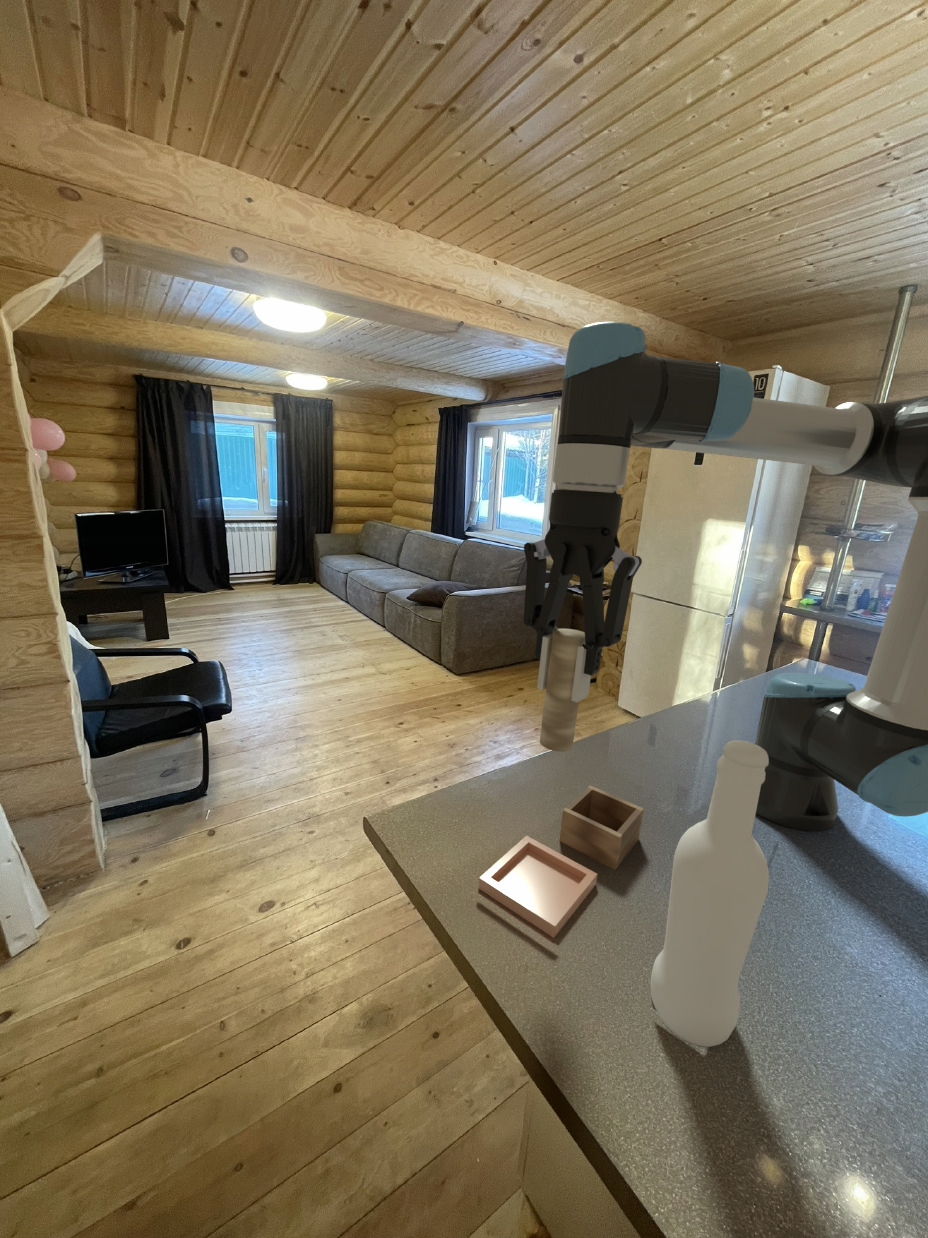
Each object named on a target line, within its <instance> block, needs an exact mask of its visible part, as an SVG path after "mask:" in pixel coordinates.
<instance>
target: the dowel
mask: <svg viewBox="0 0 928 1238" xmlns="http://www.w3.org/2000/svg"><path fill="white" fill-rule="evenodd" d="M552 633H553V634H552V642H551V651H550V659H549V667H548V676H547V684H546V689H545V694H544V695H545V696H544V703H543V711H542V716H541V717H542V719H541V728H540V734H539V735H540V736H539V743H540V745H541V746H542V747H543V748H545V749H547V750H550V751H553V752H558V753H559V752H561V753H562V752H568V751H570V750H572V749H573V747H574V739H575V732H576V726H577V718H578V712H579V711H578V710H579V704H580V701H579V702H574V701H572V700H571V698H572V690H573V682H574V675H575V667H576V659H577V651H578V646H580V645H582V644H584V643H585V631H581V630H579V629H572V628H558V629H555V630H553V631H552Z"/></svg>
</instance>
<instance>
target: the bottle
mask: <svg viewBox="0 0 928 1238" xmlns="http://www.w3.org/2000/svg"><path fill="white" fill-rule="evenodd" d="M721 753H722V756H720V758H719V759H717V762H716V771H717V774H716V777H715V781H714V782H715V783H714V786H713V790H712V795H711V798H710V799H711V800H710V803H709V807H708V811H707V812H708V813H707V816H706V819H704V820H701V821H699V822H697V823H695V824H694V825H692V826H691V827H689V828H688V829H687V830H686V831H685V832H684V833H683V834H682V836H681V837H680V838H679V840H678V844H677V846H676V849H675V851H674V856H673V862H672V872H671V882H670V891H669V892H670V893H669V899H668V901H669V902H668V908H667V909H668V911H667V918H666V920H667V921H666V928H665V936H664V937H665V939H664V943H663V944H664V945H663V948H662V950H661V952H659V954H658V955H657V956H656V958H655V960H654V962H653V966H652V971H651V977H650V997H651V1000H652V1003H653V1006H654V1009H655V1012H656V1014H657V1015H658V1017H659V1019H660V1020H661V1022H662V1023H663V1024H664V1026H666V1027H667V1029H669V1031H671V1032H672V1033H673V1034H675V1035H676V1036H677V1037H678V1038H680V1039H681V1040H683V1041H685V1042H687V1043H688V1044H692V1045H695V1046H698V1047H705V1048H707V1047H708V1048H709V1047H710V1048H711V1047H715V1046H719V1045H722V1044H723V1043H724V1042H726V1041H728V1039H729V1037H730V1036H731V1034H732V1033H733V1031H734V1029H735V1028H736V1026H737V1022H738V1019H739V1015H740V1008H741V997H740V992H739V985H738V983H739V979H740V976H741V973H742V969H743V966H744V963H745V961H746V959H747V955H748V952H749V948H750V946H751V942H752V940H753V936H754V933H755V931H756V928H757V925H758V922H759V919H760V916H761V913H762V909H763V907H764V904H765V900H766V899H767V894H768V890H769V883H770V881H769V880H770V875H769V874H770V871H769V867H768V861H767V859H766V856H765V854H764V851H762V848H761V846H760V845H759V843H758V841H757V840H756V839H755V838H754V836H753V830H754V823H755V819H756V815H757V814H756V809H757V804H758V799H759V793H760V788H761V784H762V783H763V782H764V781H765V767H767V766H768V764H769V759H768V754H767V752H766V751H765V750H764V749H763V748H761V747H760V746H758V745H756V744H755V743H754V742H750V741H746V740H740V739H737V740H736V739H735V740H734V739H733V740H731V741H730V740H729V741H728V742H727V743H726V744H725V745H724V747H723V749H722V751H721Z"/></svg>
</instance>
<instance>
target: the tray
mask: <svg viewBox="0 0 928 1238" xmlns="http://www.w3.org/2000/svg"><path fill="white" fill-rule="evenodd" d="M597 880H598V873H597V872H595V871H593V870H591V869H589V868H587V867H585V866H584V865H582V864H580V863H579V862H576V861H574V860H573V859H571V858H569V857H567V856H565V855H563V854H561V853H560V852H558V851H557V850H554V849H552V848H550V847H549V846H547V845H545V844H543V843H541V842H539V841H538V840H536V839H534V838H532V837H530V836H529V835H525V836H524V837H523V838H522V839H521V840H519V841H518V843H516V845H514V846H513V847H512V848H510V849H509V850H508V851H507V852H506V853H505V854H504V855H502V857H501V858H499V859H498V860H497V861H496V862H495V863H494V864H493V865H492V866H491V867H489V869H487V870H486V871H485V872H484V873H483V874H482V875H481V876H479V878H478V890H480V891H482V892H483V893H485V894H487V896H490V897H491V898H493V899H494V900H495V901H497V902H499V903H500V904H501V905H503V906H505V907H506V908H508V909H509V910H511V911H512V912H513V913H515V914H517V915H518V916H520V917H521V918H522V919H524V920H526V921H527V922H529V923H530V924H532V925H534V926H535V927H536V928H537V929H540V930H541V931H543V932H544V933H545V934H547V935H549V936H550V937H552V938H555V937H557V934H558V933H559V932H560V931H561V929H562V928H563V927H564V926H565V925H566V923H567V922H568V921H569V920H570V918H571V917H572V915H574V913H575V912H576V911H577V909H578V908H579V907H580V906H581V904H582V903H583V901H584V900H585V899H586V898H587V897H588V895H589V894H590V893H591V892H592V890H593V889H594V888H595V886H597ZM477 893H478V894H479V895H480V896H482V897H483V898H485V899H487V901H489V902H491V903H492V904H494V905H496V906H497V907H498V908H499V909H501V910H503V911H505V912H506V913H508V914H509V915H510V916H511V917H513V918H514V919H516V920H517V921H519V922H521V923H522V924H524V925H525V926H527V927H528V928H530V929H531V930H532V931H534V932H536V933H537V934H539V935H540V936H542V937H543V938H545V939H546V940H547V941H549V942H550V943H552V944H554V943H555V942H554V941H553V940H551V939H550V938H548V937H546V935H544V934H542V933H540V932H539V931H538V930H536V929H535V928H533V927H532V926H530V925H528V924H527V923H525V922H524V921H523V920H521V919H519V918H518V917H517V916H515V915H514V914H512V913H511V912H509V911H507V909H504V908H503V907H502V906H500V905H498V904H497V903H496V902H494V901H492V900H491V899H490V898H488V897H487V896H485V895H484V894H482V893H480V892H479V891H478V892H477Z"/></svg>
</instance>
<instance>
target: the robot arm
mask: <svg viewBox="0 0 928 1238" xmlns="http://www.w3.org/2000/svg"><path fill="white" fill-rule="evenodd" d="M646 341H647V340H646V333H645V331H644V330H643V328H641V327H640V326H637V325H632V324H631V323H629V322H622V321H621V322H619V321H601V322H594V323H591V324H586V325H584V326H582V327H579V329H578V330H576V331H575V332H574V333H573V334H572V336H571V337H570V340H569V343H568V347H567V353H566V358H565V363H564V365H565V366H564V369H563V370H564V371H563V376H562V379H561V381H562V390H561V391H562V392H561V393H562V394H561V402H560V403H561V404H560V415H559V425H558V437H557V444H556V448H555V449H556V450H555V458H554V465H553V466H554V468H553V475H552V476H553V477H552V482H553V483H554V484H557V489H553V491H552V492H551V496H550V505H549V514H548V520H549V529H548V531H547V532H546V534H545V537H544V539H541V540H538V541H533V542H532V541H531V542H526V543H524V545H523V551H524V556H525V560H526V573H525V574H526V575H525V578H526V579H525V592H524V609H523V624H524V625H525V626H526V627H531V628H532V629H534V630H535V631H536V644H535V653H534V656H535V658H536V659H537V660H539V669H538V678H537V687H536V689H538V690H541V691H543V690H546V684H547V676H548V667H549V659H550V651H551V642H552V634H553V630H555V629H559V626H557V624H558V623H557V622H558V619H559V616H560V613H561V610H562V608H563V603H564V602H565V601H564V600H565V597H566V594H567V591H568V587H569V586H570V585H569V584H570V581H571V580H572V579H573V577H574V575H575V576H576V577H579V585H580V587H581V588H582V589H581V591H582V604H583V605H582V608H583V609H582V610H583V624H584V633H585V643H584V644H582V645H580V646H578V651H577V659H576V667H575V675H574V682H573V690H572V698H571V700H572V701H574V702H579V703H580V702H581V701H582V700H584V699H586V698H587V697H589V694H590V693H589V692H590V684H591V680H592V679H591V678H592V676H594V675H595V674H597V673H598V672H599V670H600V668H601V667H600V666H601V665H600V664H601V658H602V651H603V648H604V647H605V648H608V647H611V646H613V645H616V644H618V643H620V642H621V640H622V636H623V631H624V625H625V621H626V616H627V611H628V605H629V599H630V595H631V591H632V585H633V580H634V577H635V575H636V574H637V572H638V571H639V569H640V567H641V565H642V563H643V560H642V557H640V556H639V555H631V554H630V553H628V552H626V551H625V550H623V549H622V548H621V545H620V541H619V539H618V538H619V537H618V530H619V527H620V522H621V515H622V508H623V500H624V496H622V494H621V493H619V488H620V489H623V488H624V487H625V485H626V478H627V470H628V465H629V464H628V463H629V457H630V449H631V447H639V448H652V449H659V450H660V449H661V450H662V449H663V450H664V449H665V450H673V451H682V452H691V453H700V454H707V455H708V454H710V455H718V456H726V457H727V456H728V457H735V458H747V459H755V460H763V461H771V462H772V461H773V462H782V463H789V464H790V463H791V464H792V463H793V464H800V465H807V466H809V465H810V466H813V467H814V468H815V469H816V471H818V472H820V473H821V474H824V475H829V476H837V477H845V478H851V479H856V480H861V481H865V482H871V483H877V484H879V485H880V484H882V485H887V486H892V487H898V488H899V487H900V488H911V489H910V491H909V495H908V499H907V501H908V502H909V503H910V505H912V507H913V508H914V509H915V511H916V512H917V515H918V516H917V519H916V523H915V526H914V528H913V531H912V533H911V537H910V540H909V544H908V547H907V550H906V553H905V556H904V560H903V563H902V566H901V569H900V573H899V575H898V577H897V581H896V585H895V588H894V592H893V595H892V597H891V601H890V604H889V607H888V611H887V613H886V616H885V620H884V623H883V625H882V629H881V632H880V635H879V638H878V642H877V644H876V647H875V650H874V654H873V657H872V659H871V660H872V661H871V663H870V666H869V670H868V672H867V675H866V679H865V682H864V685H863V687H862V688H859V689H856V686H855V685H854V684H852V683H851V682H849V681H846V680H844V679H843V680H842V679H840V678H836V677H832V676H826V675H820V674H813V673H804V672H783V673H782V672H781V673H777V674H776V675H772V677H771V678H770V680H769V681H768V683H767V688H766V691H765V693H764V694H763V701H762V706H761V711H760V716H759V722H758V727H757V730H756V731H757V732H756V736H755V742H754V744H756V745H758V746H760V747H761V748H763V749H764V750H765V751H766V752H767V754H768V759H769V764H768V766H767V767H765V781H764V782H763V783H762V784H761V788H760V793H759V799H758V804H757V809H756V814H755V815H758V816H760V817H762V818H764V819H766V820H767V821H771V822H773V823H776V824H778V825H781V826H784V827H787V828H792V829H796V830H801V831H802V830H803V831H823V830H824V831H825V830H829V829H830V828H832V826H834V825H835V823H836V820H837V817H838V811H839V804H838V798H837V791H836V783H835V781H836V782H837V783H839V784H840V785H842V786H843V787H845V788H846V789H848V790H849V791H851V792H852V793H854V794H855V795H857V797H858V798H859V799H861V800H862V801H863V802H866V803H868V804H871V805H874V807H876V808H878V809H879V810H881V811H883V812H885V813H886V814H889V815H892V816H897V817H904V818H907V817H915V816H920V815H924V814H926V813H928V395H924V396H917V397H912V398H907V399H901V400H895V401H889V402H878V403H877V402H876V403H863V402H861V403H860V402H855V401H854V402H853V401H851V402H850V401H849V402H845V403H844V402H843V403H842V404H839V405H837V406H836V407H830V406H828V407H827V406H821V405H813V404H807V403H806V404H805V403H797V402H793V401H792V402H791V401H790V402H789V401H784V400H778V399H777V400H775V399H767V398H759V397H755V385H754V381H753V378H752V376H751V374H750V373H749V372H748V371H747V370H746V369H744V368H742V367H740V366H736V365H735V366H734V365H730V364H726V363H723V362H721V361H715V362H710V361H709V362H708V361H700V360H691V359H683V358H681V359H680V358H675V357H674V358H673V357H665V356H663V357H661V356H656V355H654V354H649V353H646V352H647V345H646ZM549 555H550V557H551V559H552V565H551V567H550V572H549V574H548V575H549V582H548V586H547V590H546V581H547V557H548V556H549ZM612 560H613V567H612V569H613V571H615V572H614V574H613V577H612V580H611V585H610V590H609V596H608V603H607V608H606V612H605V609H604V590H603V585H604V583H605V567H607V566H608V564H609V563H610V562H611V561H612ZM545 591H546V593H545Z"/></svg>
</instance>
